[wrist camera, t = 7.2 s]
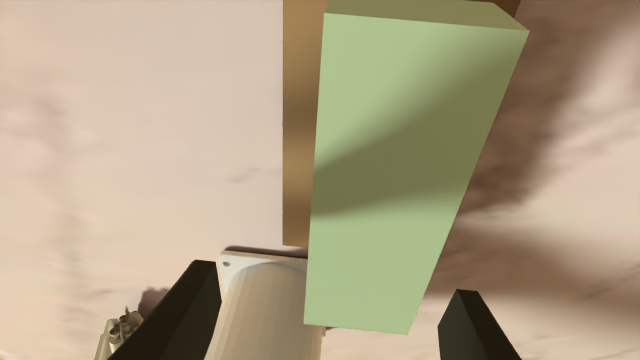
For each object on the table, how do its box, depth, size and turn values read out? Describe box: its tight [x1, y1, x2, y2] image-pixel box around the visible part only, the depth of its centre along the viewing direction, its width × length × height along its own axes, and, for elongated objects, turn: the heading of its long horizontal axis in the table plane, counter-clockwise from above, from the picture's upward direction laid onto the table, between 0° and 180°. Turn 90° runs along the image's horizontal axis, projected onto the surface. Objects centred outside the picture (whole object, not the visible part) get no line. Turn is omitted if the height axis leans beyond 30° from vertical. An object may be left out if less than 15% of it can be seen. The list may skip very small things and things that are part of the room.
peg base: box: [283, 0, 520, 248], centre depth 17 cm, size 17×9×4 cm, turn 176°
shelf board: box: [304, 0, 530, 335], centre depth 14 cm, size 14×5×3 cm, turn 176°
